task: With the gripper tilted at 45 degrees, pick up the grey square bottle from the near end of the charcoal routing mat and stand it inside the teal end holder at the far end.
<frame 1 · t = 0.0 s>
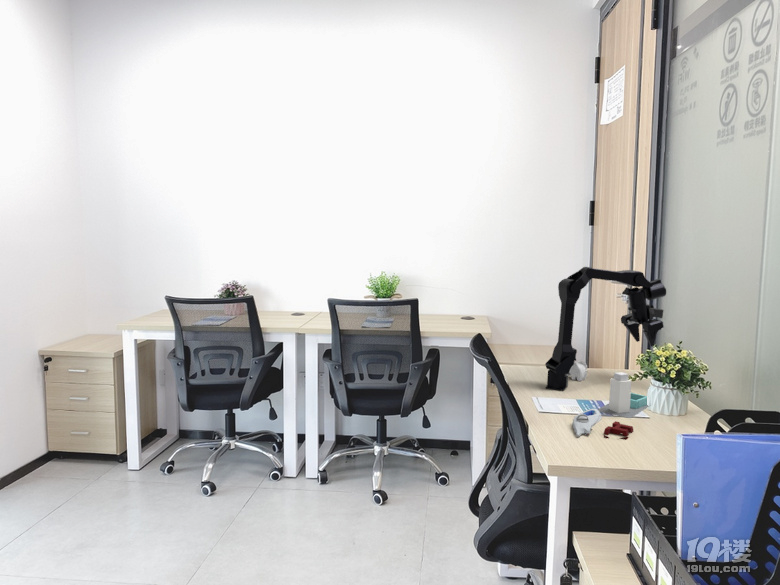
hand: (645, 343, 233), 15 cm above the table, tool pointing down, fingers open, 9 cm apart
spaceship: (588, 428, 186), on the table
mat: (624, 409, 202), on the table
bracket: (619, 437, 179), on the table
holder: (630, 403, 206), resting on mat
grey square bottle: (619, 410, 198), point 1 cm above the table, touching mat
elephant figurine: (575, 379, 241), on the table
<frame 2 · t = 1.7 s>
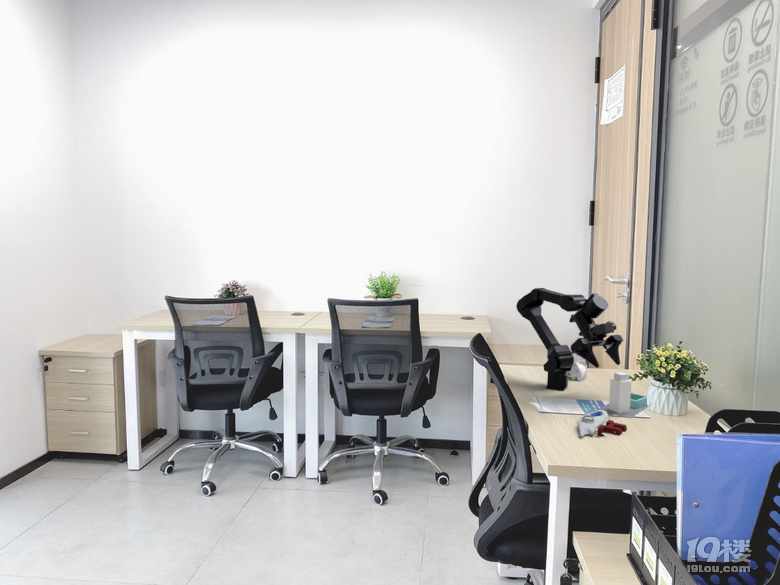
hand: (608, 365, 205), 14 cm above the table, tool tilted 45°, fingers open, 9 cm apart
spaceship: (594, 429, 185), on the table
bracket: (613, 435, 180), on the table
everything else where it was.
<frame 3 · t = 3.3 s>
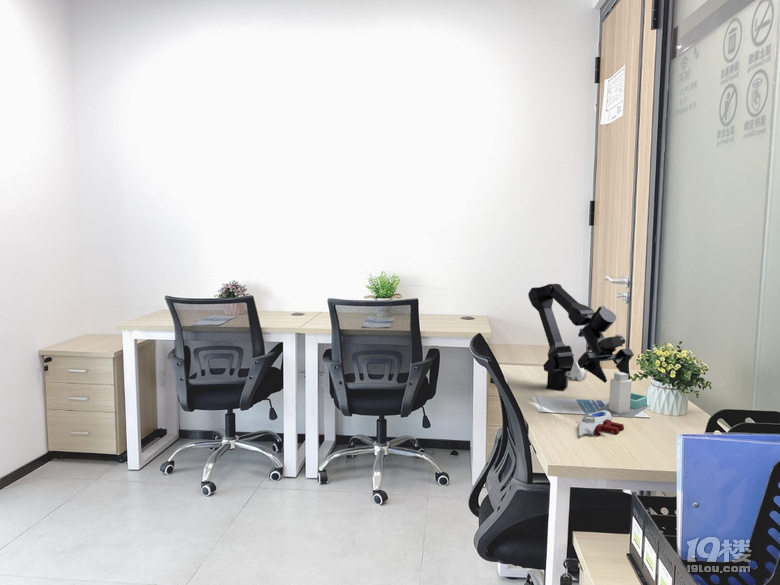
hand: (617, 380, 199), 10 cm above the table, tool tilted 45°, fingers open, 9 cm apart
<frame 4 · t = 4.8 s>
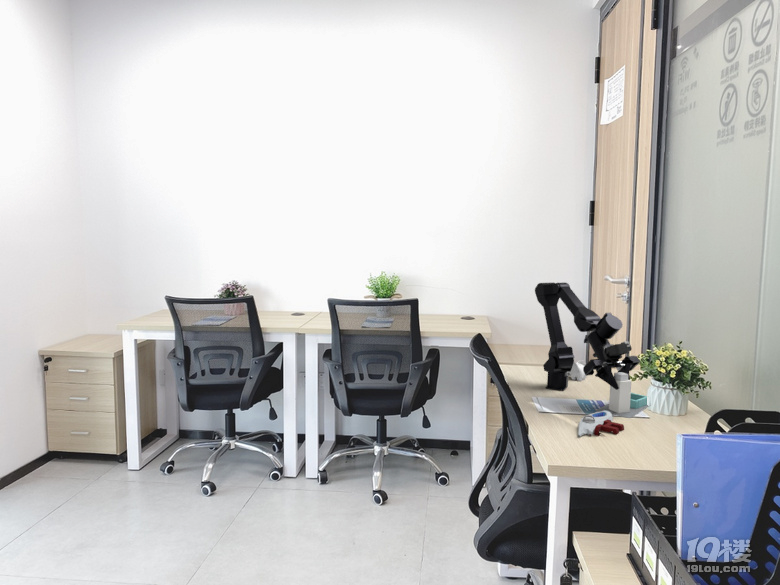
hand: (623, 388, 196), 9 cm above the table, tool tilted 45°, fingers closed on grey square bottle, 4 cm apart
grey square bottle: (619, 410, 198), point 1 cm above the table, touching gripper, mat
everything else where it was.
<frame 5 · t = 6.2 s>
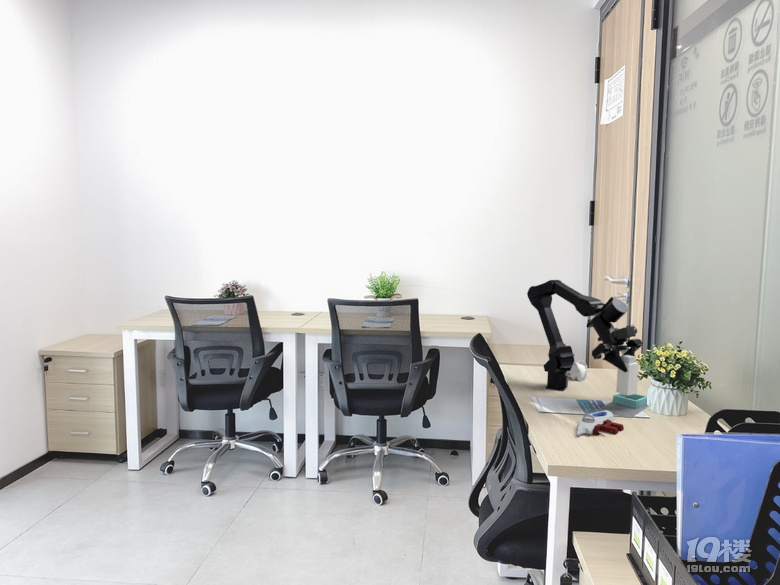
hand: (631, 370, 199), 13 cm above the table, tool tilted 45°, fingers closed on grey square bottle, 4 cm apart
grey square bottle: (626, 392, 201), point 6 cm above the table, touching gripper
everything else where it was.
when the fingers open (10 cm above the table, at t = 8.0 s): grey square bottle stays where it is, resting on mat.
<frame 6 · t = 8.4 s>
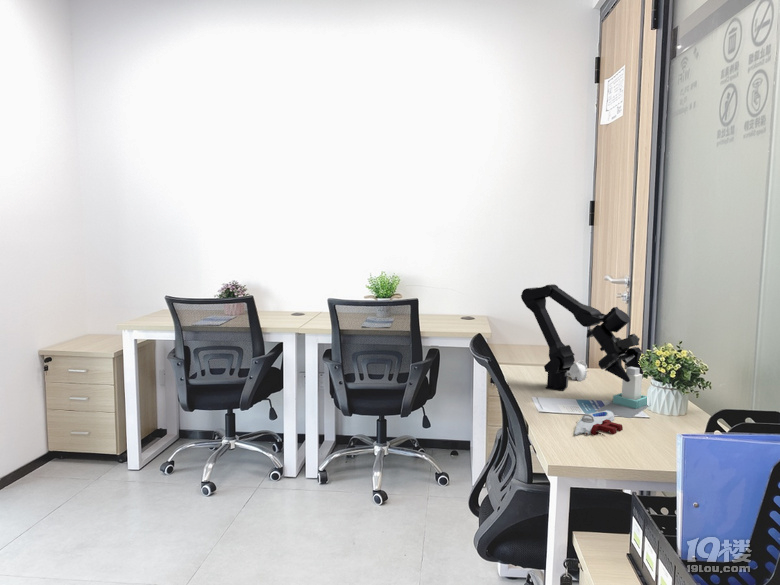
hand: (636, 379, 204), 10 cm above the table, tool tilted 45°, fingers open, 9 cm apart
grey square bottle: (630, 403, 206), point 1 cm above the table, touching mat
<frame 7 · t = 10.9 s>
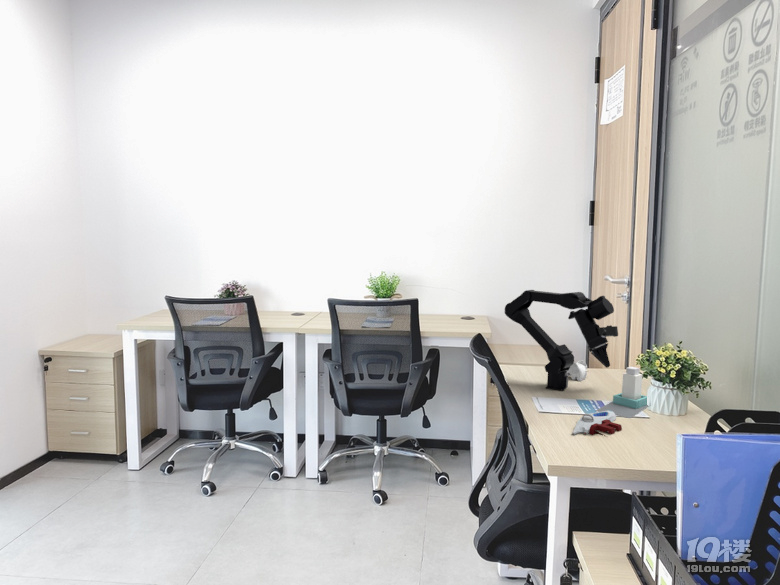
hand: (608, 366, 214), 11 cm above the table, tool tilted 30°, fingers open, 9 cm apart
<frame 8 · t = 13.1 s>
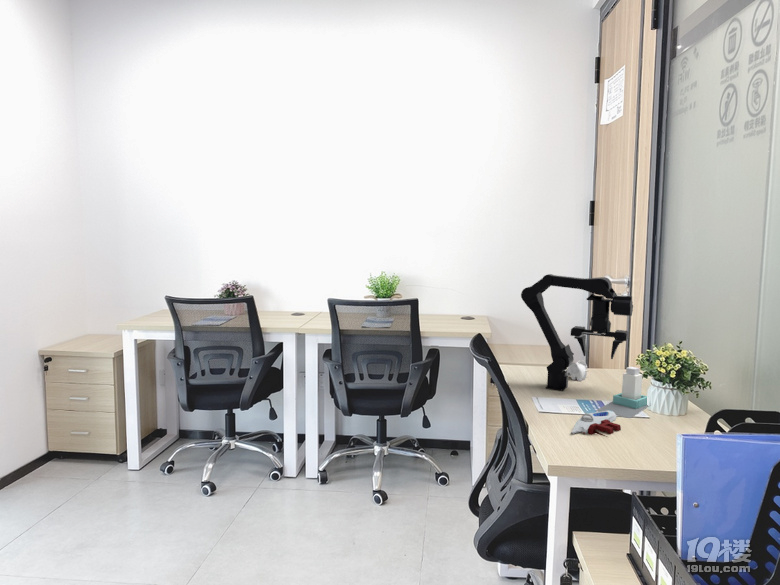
hand: (598, 357, 220), 13 cm above the table, tool pointing down, fingers open, 9 cm apart
at the end: grey square bottle 0.0 cm off-centre on the holder, point 0.0 cm above the holder's base; grey square bottle tilted 0°; the gripper is holding nothing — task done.
